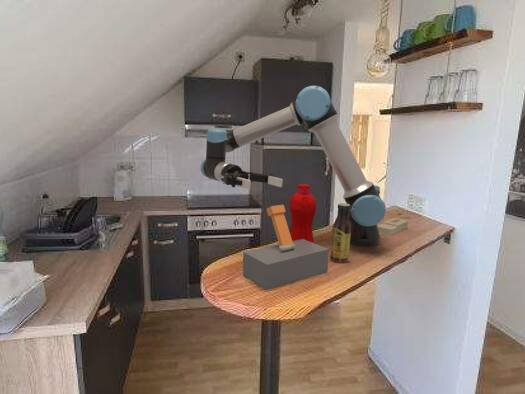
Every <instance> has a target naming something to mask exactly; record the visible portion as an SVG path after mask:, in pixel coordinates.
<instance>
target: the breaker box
mask: <svg viewBox="0 0 525 394" xmlns="http://www.w3.org/2000/svg"><path fill="white" fill-rule="evenodd" d="M292 242H293V243H294V244H295V249H291V250H287V251H283V252H280V251H279V243H277V244H274V245H269V246H264V247H261V248H260V247H259V248H256V249H251V250H245V251H243V252H242V254H243V256H242V276H243V277H245V278H247V279H248V280H250V281H251V282H252V283H254V284H255V285H257V286H258V287H260V288H261V289H263V290H264V291H269V290H273V289H276V288H279V287H283V286H286V285H288V284H289V285H290V284H292V283H295V282H298V281H302V280H305V279H309V278H312V277H315V276H317V275H322V274H326V273H328V269H329V256H330V255H329V254H330V252H329V251H330V249H329V248H327V247H324V246H322V245H320V244H316V243H315V242H314V243H312V242H309V241H307V240H304V239H301V240H296V241H292Z"/></svg>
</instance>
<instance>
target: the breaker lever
mask: <svg viewBox="0 0 525 394" xmlns="http://www.w3.org/2000/svg"><path fill="white" fill-rule="evenodd" d="M266 212H267V217H270V218H271V222H272V225H273V228H274V231H275V232H274V233H275V235H276V239H277V242H278V244H279V251H280V252H283V251H287V250H291V249H295V244H294V243H293V242H292V239H291V235H290V229H289V226H288V221H287V220H286V216H285V213H286V208H285V205H284V204H278V205H270V206H269V207H267V208H266Z"/></svg>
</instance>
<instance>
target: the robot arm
mask: <svg viewBox="0 0 525 394" xmlns="http://www.w3.org/2000/svg"><path fill="white" fill-rule="evenodd" d="M337 119H338V112H337V110H336V107H334V104H333V102H332V101H331V97H330V94H329V93H328V91H327V89H325V88H323V87H321V86H318V85H310V86H307V87H304V88H303V89H302V90H301V91H300V92H299V93H298V95H297V97H296V100H294V101H292V102H290V105H289V106H287V107H285V108H283V109H280V110H278V111H275V112H273V113H270V114H268V115H266V116H264V117H260V118H258V119H257V120H254V121H252V122H250V123H247V124H245V125H242V126H240V127H238V128H235V129H233V130H231V131H228V132H227V130H225V129H219V128H209V129H207V131H206V133H207V134H206V149H205V151H206V152H205V153H206V154H205V159H204V160H203V161H202V162H201V164H200V172H201V174H202V175H203V176H204V177H206V178H208V179H209V180H213V181H216V182H217V181H218V182H221V183H222V185H226V186H229V185H230V186H231V188H236V186H237V187H239V188H240V187H241V188H243V189H246V190H251V184H252V182H257V183H264V184H265V183H266V184H268V185H270V186H275V187H278V188H283V182H284V181H283V180H284V179H283V178H280V177H275V175H274V174H273V175H272V173H270V174H265V173H257V172H252V171H249V172H248V171H245V170H243V169H242V167H241V166H239V165H238V164H232V163H230V162H226V157H227V156H226V155H227V153H230V152H233V151H235V150H236V149H239V148H241V147H245V146H246V145H248V144H251V143H254V142H257V141H259V140H261V139H263V138H266V137H268V136H271V135H273V134H276V133H278V132H280V131H283V130H286V129H287V128H291V127H293V126H295V125H298V126H302V125H305V126H306V129H307V130H308V132H311V133H314V135H315V137H316V139H317V141H318V142H319V144H320V146H321V148H322V150H323V152H324V154H325V157H326V158H327V159H328V162H329V163H330V166H331V167H332V170H333V171H334V173H335V175H336V176H337V177H336V178H338V179H337V180H338V181H339V183H340V184H341V187H342V188H343V190H344V191H343V192H344V193H343V196H342V197H343V200H344V203H346V204H350V210H349V220H350V222H351V236H350V244H352V245H357V246H376V245H379V244H380V242H381V235H380V233H379V230H378V225H379V223H381V222H382V220H384V218H385V217H386V212H387V211H386V209H387V207H386V204H385V202H384V200H383V199H382V197H381V196H380V194H381V187H380V186H379V185H374V183H373V181H370V180H367V178H366V177H365V174H364V172H363V170H362V169H361V167H360V165H359V163H358V160H357V159H356V156H355V155H354V153H353V151H352V149H351V147H350V145H349V143H348V141H347V139H346V138H345V135H344V134H343V132H342V130H341V127H340V126H339V124H338V122H337Z"/></svg>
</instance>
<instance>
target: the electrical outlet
mask: <svg viewBox="0 0 525 394" xmlns="http://www.w3.org/2000/svg"><path fill="white" fill-rule="evenodd" d="M408 223H409V221H408V220H406V219H401V218H395V217H392V218H389V219H386V220H384V221H383V223H381V224H377V226H378V230H379V234H380V233H381V235H385V234H386V236H389V235H390V236H389V237H392V236H394V235H396V234H398V233H400V232H402V231H404V230H406V229H408ZM391 235H392V236H391Z"/></svg>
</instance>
